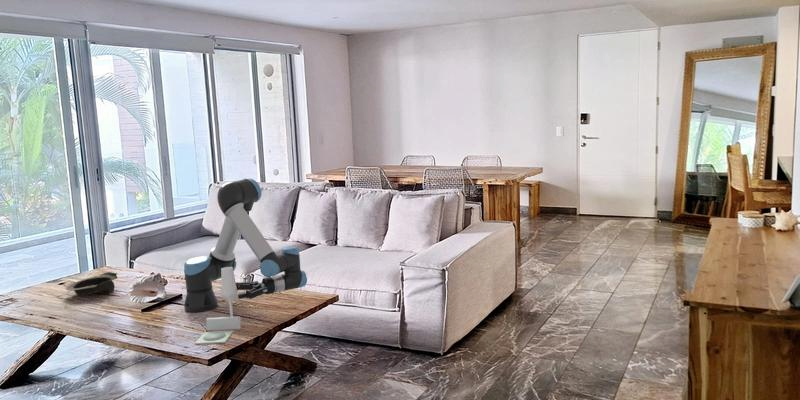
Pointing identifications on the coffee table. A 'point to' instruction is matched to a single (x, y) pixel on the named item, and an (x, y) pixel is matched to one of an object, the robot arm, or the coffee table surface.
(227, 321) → the low wall
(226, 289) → the champagne flute
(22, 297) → the coffee table surface
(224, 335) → the resting pad
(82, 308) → the coffee table surface
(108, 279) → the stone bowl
